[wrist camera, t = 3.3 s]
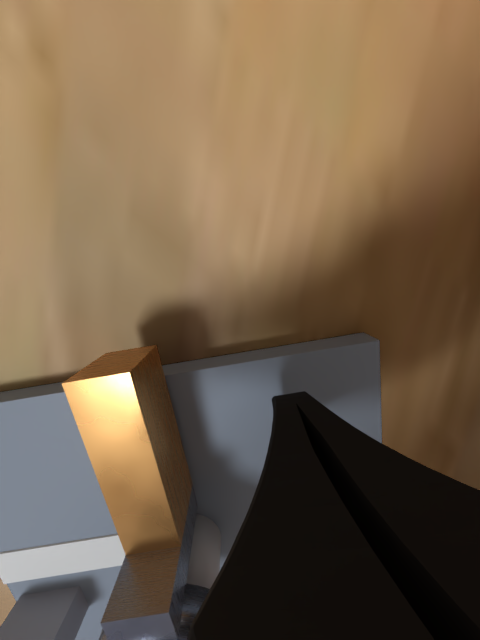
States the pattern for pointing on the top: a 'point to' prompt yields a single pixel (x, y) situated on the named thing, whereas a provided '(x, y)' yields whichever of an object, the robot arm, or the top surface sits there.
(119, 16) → the top surface
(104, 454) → the lever handle
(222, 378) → the base
